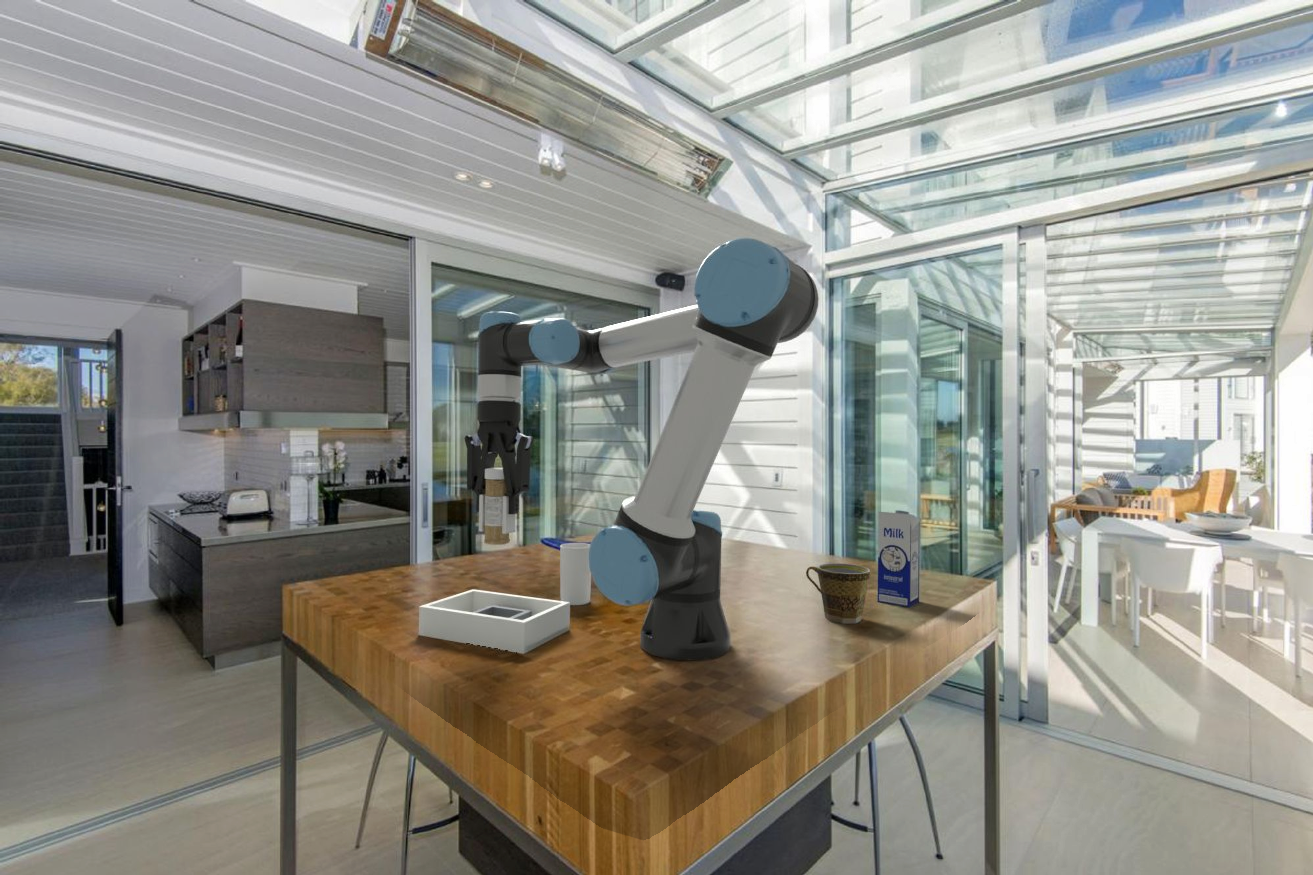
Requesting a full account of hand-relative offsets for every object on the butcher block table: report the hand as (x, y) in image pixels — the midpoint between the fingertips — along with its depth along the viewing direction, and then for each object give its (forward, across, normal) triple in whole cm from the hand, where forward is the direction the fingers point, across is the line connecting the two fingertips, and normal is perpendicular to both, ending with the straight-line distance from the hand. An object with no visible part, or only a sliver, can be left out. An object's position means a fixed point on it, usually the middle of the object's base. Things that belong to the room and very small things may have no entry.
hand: (496, 531), depth 110 cm
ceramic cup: (+18, -54, -37) cm, 68 cm away
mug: (+18, -1, -26) cm, 32 cm away
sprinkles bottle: (+2, 0, 0) cm, 2 cm away
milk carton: (+18, -65, -56) cm, 88 cm away
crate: (+18, 0, 0) cm, 18 cm away
